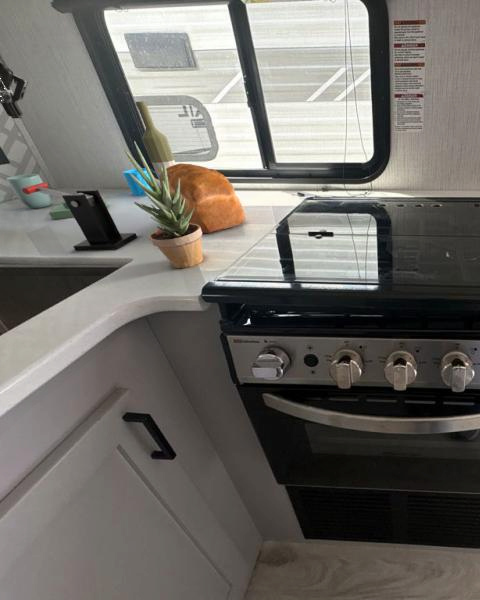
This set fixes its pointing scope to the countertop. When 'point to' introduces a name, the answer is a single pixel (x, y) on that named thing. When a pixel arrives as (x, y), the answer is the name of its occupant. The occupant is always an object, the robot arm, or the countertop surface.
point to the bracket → (95, 223)
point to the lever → (52, 192)
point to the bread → (206, 197)
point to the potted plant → (170, 219)
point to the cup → (29, 199)
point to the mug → (132, 184)
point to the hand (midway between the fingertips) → (17, 118)
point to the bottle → (155, 142)
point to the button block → (63, 211)
